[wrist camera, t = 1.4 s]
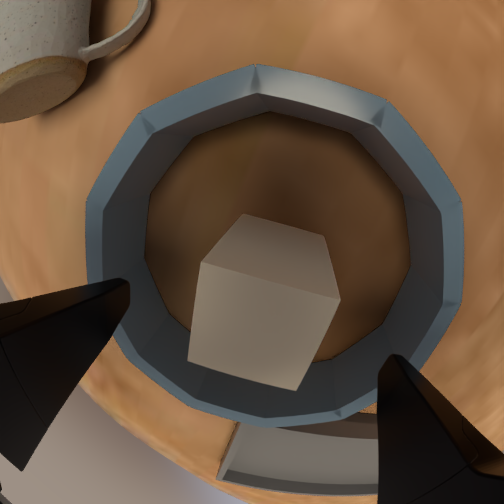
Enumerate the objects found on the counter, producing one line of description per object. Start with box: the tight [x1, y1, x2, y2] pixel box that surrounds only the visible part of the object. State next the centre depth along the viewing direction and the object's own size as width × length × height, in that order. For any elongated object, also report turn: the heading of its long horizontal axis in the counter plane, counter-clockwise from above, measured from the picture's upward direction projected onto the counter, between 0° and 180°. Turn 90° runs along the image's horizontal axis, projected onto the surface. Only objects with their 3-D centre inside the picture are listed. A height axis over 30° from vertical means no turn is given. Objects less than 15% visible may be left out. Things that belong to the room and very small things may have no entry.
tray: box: [216, 412, 378, 496], centre depth 18 cm, size 20×14×2 cm
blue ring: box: [85, 64, 464, 428], centre depth 12 cm, size 16×16×4 cm
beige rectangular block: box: [187, 214, 341, 391], centre depth 11 cm, size 4×4×6 cm
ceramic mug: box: [0, 0, 151, 123], centre depth 7 cm, size 11×8×8 cm
